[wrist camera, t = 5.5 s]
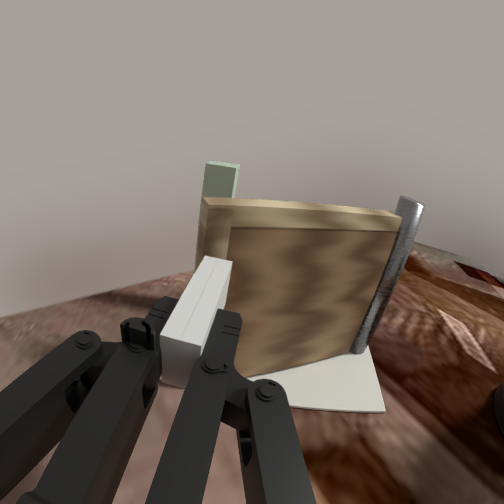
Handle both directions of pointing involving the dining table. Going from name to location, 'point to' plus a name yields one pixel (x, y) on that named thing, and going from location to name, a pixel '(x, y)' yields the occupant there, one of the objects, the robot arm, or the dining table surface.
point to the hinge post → (390, 271)
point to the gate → (296, 274)
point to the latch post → (219, 183)
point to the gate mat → (331, 384)
